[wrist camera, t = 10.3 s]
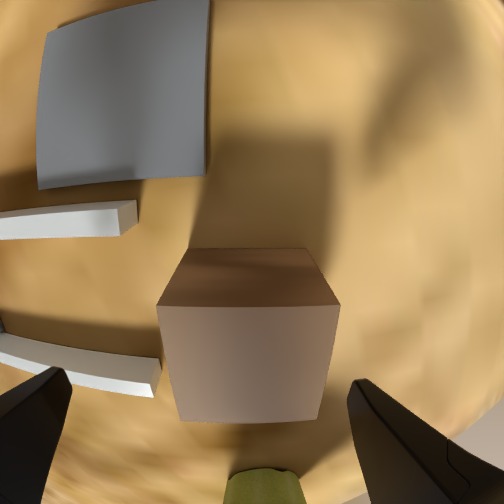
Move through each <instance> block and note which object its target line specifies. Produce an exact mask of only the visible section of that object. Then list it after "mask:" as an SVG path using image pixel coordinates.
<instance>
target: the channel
mask: <svg viewBox="0 0 504 504" xmlns="http://www.w3.org/2000/svg"><path fill="white" fill-rule="evenodd" d="M137 223H138V216H137V203H136V200H123V201H107V202H93V203H81V204H69V205H59V206H49V207H39V208H30V209H22V210H14V211H6V212H0V240H3V239H28V238H58V237H96V236H121V235H122V234H123V233H125V232H126V231H127V230H129V229H130V228H132V227H133V226H135V225H136V224H137ZM4 331H5V329H4V327H3V324H2V321H1V319H0V362H1V363H4V364H7V365H10V366H13V367H16V368H19V369H22V370H25V371H28V372H31V373H34V374H39V373H41V372H43V371H45V370H46V369H48V368H50V367H52V366H56V367H61V368H63V369H64V370H65V372H66V374H67V376H68V379H69V381H70V383H72V384H76V385H81V386H85V387H90V388H95V389H100V390H106V391H111V392H117V393H123V394H130V395H137V396H144V397H153V398H154V395H155V392H156V389H157V386H158V383H159V380H160V377H161V373H162V370H161V366H160V362H159V358H147V357H137V356H128V355H119V354H111V353H104V352H97V351H90V350H84V349H77V348H72V347H66V346H61V345H55V344H50V343H45V342H41V341H36V340H32V339H27V338H23V337H19V336H15V335H11V334H7V333H3V332H4Z"/></svg>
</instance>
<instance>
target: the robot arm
mask: <svg viewBox="0 0 504 504" xmlns="http://www.w3.org/2000/svg"><path fill="white" fill-rule="evenodd" d="M71 395H72V385H71V383H70V381H69V379H68V376H67V374H66V372H65V370H64V369H63V368H61V367H56V366H52V367H50V368H48V369H46V370H45V371H43V372H41V373H39V374H38V375H36V376H34V377H32V378H30V379H29V380H27V381H25V382H23V383H22V384H20V385H18V386H16V387H15V388H13V389H11V390H9V391H7V392H6V393H4V394H2V395H0V504H41V500H42V496H43V492H44V488H45V484H46V481H47V477H48V473H49V470H50V467H51V463H52V460H53V457H54V454H55V451H56V448H57V444H58V442H59V439H60V436H61V433H62V430H63V426H64V422H65V418H66V414H67V410H68V406H69V402H70V399H71ZM347 408H348V413H349V418H350V424H351V430H352V435H353V441H354V446H355V450H356V453H357V456H358V460H359V463H360V466H361V470H362V473H363V477H364V480H365V483H366V487H367V490H368V494H369V497H370V501H371V504H504V471H503V470H501V469H499V468H497V467H495V466H493V465H491V464H489V463H487V462H485V461H483V460H481V459H480V458H478V457H476V456H474V455H473V454H471V453H469V452H467V451H466V450H464V449H463V448H461V447H460V446H458V445H457V444H455V443H454V442H453V441H451V440H450V439H447V437H445V436H444V435H443V434H441V433H440V432H438V431H437V430H436V429H434V428H433V427H431V426H430V425H429V424H427V423H426V422H425V421H423V420H422V419H420V418H419V417H418V416H416V415H415V414H414V413H412V412H411V411H410V410H408V409H407V408H405V407H404V406H403V405H401V404H400V403H399V402H397V401H396V400H395V399H393V398H392V397H391V396H389V395H388V394H387V393H385V392H384V391H383V390H381V389H380V388H379V387H377V386H376V385H375V384H373V383H372V382H371V381H369V380H368V379H365V378H364V379H357V380H354V381H353V382H352V384H351V388H350V391H349V394H348V397H347Z"/></svg>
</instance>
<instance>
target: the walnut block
mask: <svg viewBox="0 0 504 504" xmlns="http://www.w3.org/2000/svg"><path fill="white" fill-rule="evenodd" d="M340 306H341V305H340V303H339V301H338V300H337V298H336V296H335V295H334V293H333V291H332V290H331V288H330V286H329V285H328V283H327V281H326V280H325V278H324V276H323V275H322V273H321V272H320V270H319V268H318V267H317V265H316V263H315V262H314V260H313V259H312V257H311V255H310V254H309V252H308V251H307V249H306V248H208V249H187V251H186V252H185V254H184V256H183V258H182V259H181V261H180V263H179V265H178V267H177V268H176V270H175V272H174V274H173V276H172V277H171V279H170V281H169V283H168V285H167V286H166V288H165V290H164V292H163V294H162V296H161V297H160V299H159V301H158V303H157V305H156V308H157V314H158V320H159V326H160V332H161V337H162V343H163V348H164V353H165V358H166V363H167V367H168V372H169V376H170V381H171V385H172V389H173V394H174V398H175V402H176V406H177V410H178V413H179V417H180V421H191V422H207V423H276V422H293V421H305V420H316V419H317V416H318V412H319V408H320V404H321V400H322V396H323V392H324V387H325V383H326V379H327V374H328V370H329V365H330V360H331V355H332V350H333V345H334V340H335V335H336V329H337V324H338V318H339V312H340Z"/></svg>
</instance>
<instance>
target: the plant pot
mask: <svg viewBox="0 0 504 504" xmlns="http://www.w3.org/2000/svg"><path fill="white" fill-rule="evenodd" d="M223 504H307V503H306V500H305V497H304V494H303V491H302V488H301V485H300V482H299V479H298V477H297V475H296V474H294V473H293V472H291V471H285V472H280V471H276V470H274V469H271V468H260V469H254V470H248V471H243V472H240V473H237V474H235V475H234V476H233V477H232V478H231V479H230V480H228V481H227V485H226V490H225V495H224V501H223Z"/></svg>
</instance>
